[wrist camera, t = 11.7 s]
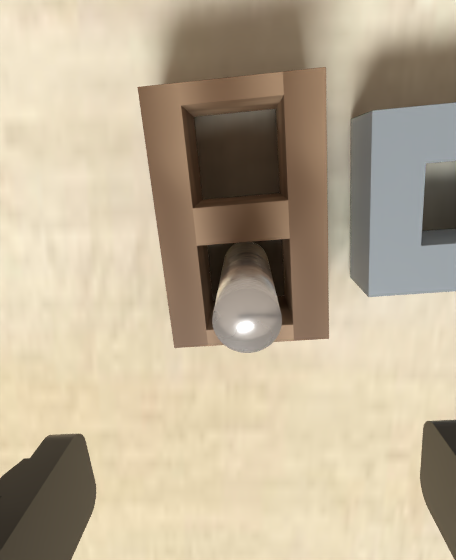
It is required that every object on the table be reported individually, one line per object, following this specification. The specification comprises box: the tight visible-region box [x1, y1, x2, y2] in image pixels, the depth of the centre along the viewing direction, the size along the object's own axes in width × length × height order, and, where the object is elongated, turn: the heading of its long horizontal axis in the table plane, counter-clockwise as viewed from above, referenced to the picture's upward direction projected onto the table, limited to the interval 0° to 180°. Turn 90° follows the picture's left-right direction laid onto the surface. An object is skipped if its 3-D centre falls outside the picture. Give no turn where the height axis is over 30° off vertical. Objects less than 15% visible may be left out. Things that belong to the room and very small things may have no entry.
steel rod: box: [212, 242, 282, 353], centre depth 21 cm, size 3×3×10 cm
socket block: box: [350, 103, 456, 297], centre depth 22 cm, size 10×10×4 cm
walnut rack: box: [138, 67, 329, 348], centre depth 23 cm, size 9×14×5 cm, turn 5°
